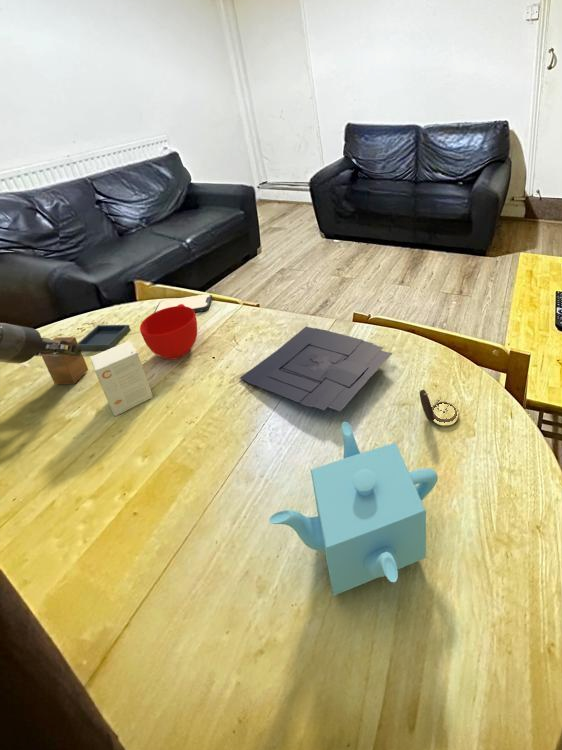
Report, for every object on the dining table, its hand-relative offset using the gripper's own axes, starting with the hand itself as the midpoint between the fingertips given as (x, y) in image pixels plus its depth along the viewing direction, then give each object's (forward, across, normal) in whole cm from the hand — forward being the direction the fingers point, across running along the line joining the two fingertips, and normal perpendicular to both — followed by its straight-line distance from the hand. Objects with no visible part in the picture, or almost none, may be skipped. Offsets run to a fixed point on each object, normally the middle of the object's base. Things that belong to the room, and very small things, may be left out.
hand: (68, 351), depth 101 cm
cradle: (+14, +2, -4) cm, 15 cm away
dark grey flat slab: (+5, -61, +5) cm, 61 cm away
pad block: (+3, 0, +6) cm, 6 cm away
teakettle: (-23, -75, +32) cm, 85 cm away
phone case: (+25, -13, -16) cm, 33 cm away
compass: (-4, -89, +14) cm, 90 cm away
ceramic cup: (+12, -21, -2) cm, 24 cm away
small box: (-1, -19, +11) cm, 22 cm away
